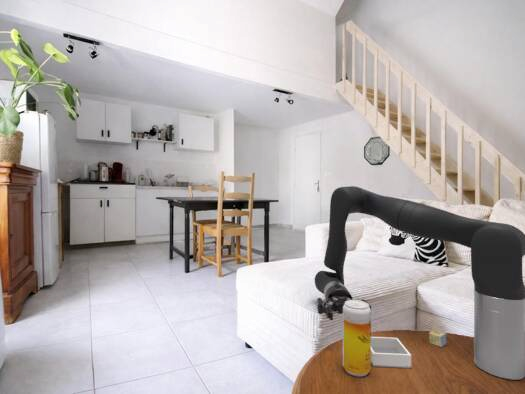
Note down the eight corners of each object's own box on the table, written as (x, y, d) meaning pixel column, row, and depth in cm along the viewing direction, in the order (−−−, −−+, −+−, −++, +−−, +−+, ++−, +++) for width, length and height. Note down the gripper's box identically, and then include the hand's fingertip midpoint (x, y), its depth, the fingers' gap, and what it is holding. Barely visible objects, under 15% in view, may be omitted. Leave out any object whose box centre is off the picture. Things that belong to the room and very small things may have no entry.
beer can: (372, 379, 64) (373, 309, 64) (343, 376, 65) (343, 307, 65) (368, 364, 70) (368, 300, 70) (341, 361, 71) (342, 298, 71)
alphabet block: (441, 347, 78) (441, 336, 78) (429, 343, 80) (429, 332, 80) (446, 344, 80) (446, 333, 80) (434, 340, 82) (434, 329, 82)
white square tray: (397, 349, 77) (397, 337, 77) (411, 368, 68) (411, 355, 68) (363, 347, 77) (363, 336, 77) (372, 366, 69) (373, 353, 69)
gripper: (314, 283, 93) (320, 301, 77) (360, 284, 92) (376, 303, 75) (314, 307, 93) (320, 330, 76) (360, 309, 92) (376, 332, 75)
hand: (348, 317), depth 76 cm, fingers open, 8 cm apart
